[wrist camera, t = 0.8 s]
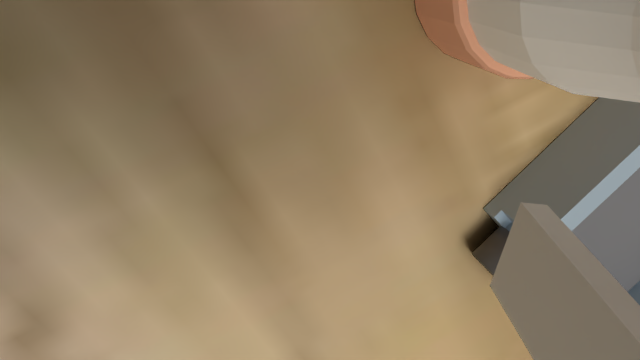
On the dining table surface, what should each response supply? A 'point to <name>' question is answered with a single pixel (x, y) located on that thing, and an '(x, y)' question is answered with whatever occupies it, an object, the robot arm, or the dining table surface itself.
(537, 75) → the pepper shaker
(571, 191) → the chassis
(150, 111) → the dining table surface
